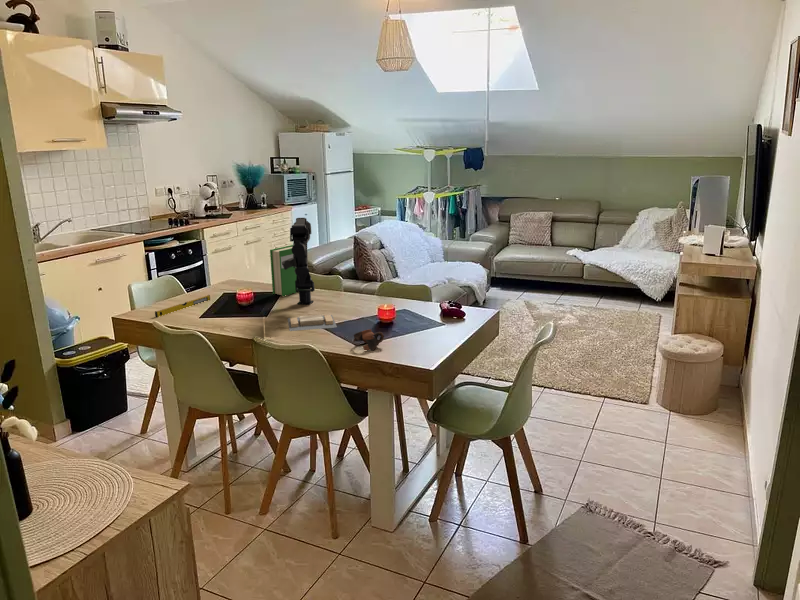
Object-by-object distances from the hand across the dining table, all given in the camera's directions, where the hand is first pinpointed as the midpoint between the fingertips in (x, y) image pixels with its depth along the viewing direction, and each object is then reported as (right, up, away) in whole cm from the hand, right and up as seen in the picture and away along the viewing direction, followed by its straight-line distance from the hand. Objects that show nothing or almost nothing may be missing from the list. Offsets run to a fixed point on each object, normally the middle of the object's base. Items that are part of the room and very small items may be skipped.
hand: (301, 285), depth 281 cm
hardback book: (-13, -3, +41) cm, 43 cm away
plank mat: (+7, -18, -16) cm, 25 cm away
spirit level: (-59, -11, +13) cm, 62 cm away
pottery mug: (+33, -25, -44) cm, 61 cm away
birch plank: (+6, -14, -12) cm, 20 cm away
